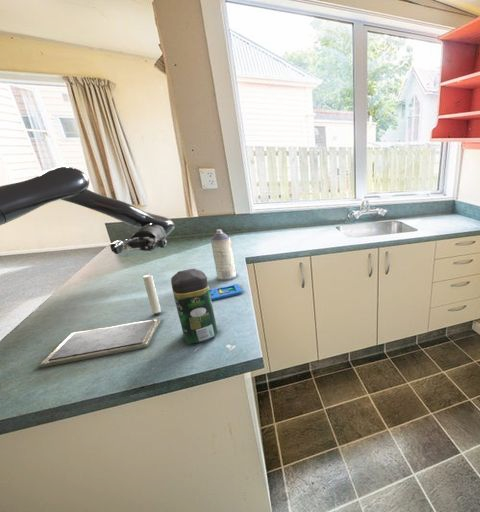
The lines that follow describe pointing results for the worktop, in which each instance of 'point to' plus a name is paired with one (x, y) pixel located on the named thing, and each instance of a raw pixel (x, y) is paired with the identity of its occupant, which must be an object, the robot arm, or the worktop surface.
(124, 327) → the chalkboard
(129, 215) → the robot arm
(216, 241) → the aerosol can
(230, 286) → the handheld gaming device
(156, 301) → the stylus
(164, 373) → the worktop surface
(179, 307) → the coffee jar
